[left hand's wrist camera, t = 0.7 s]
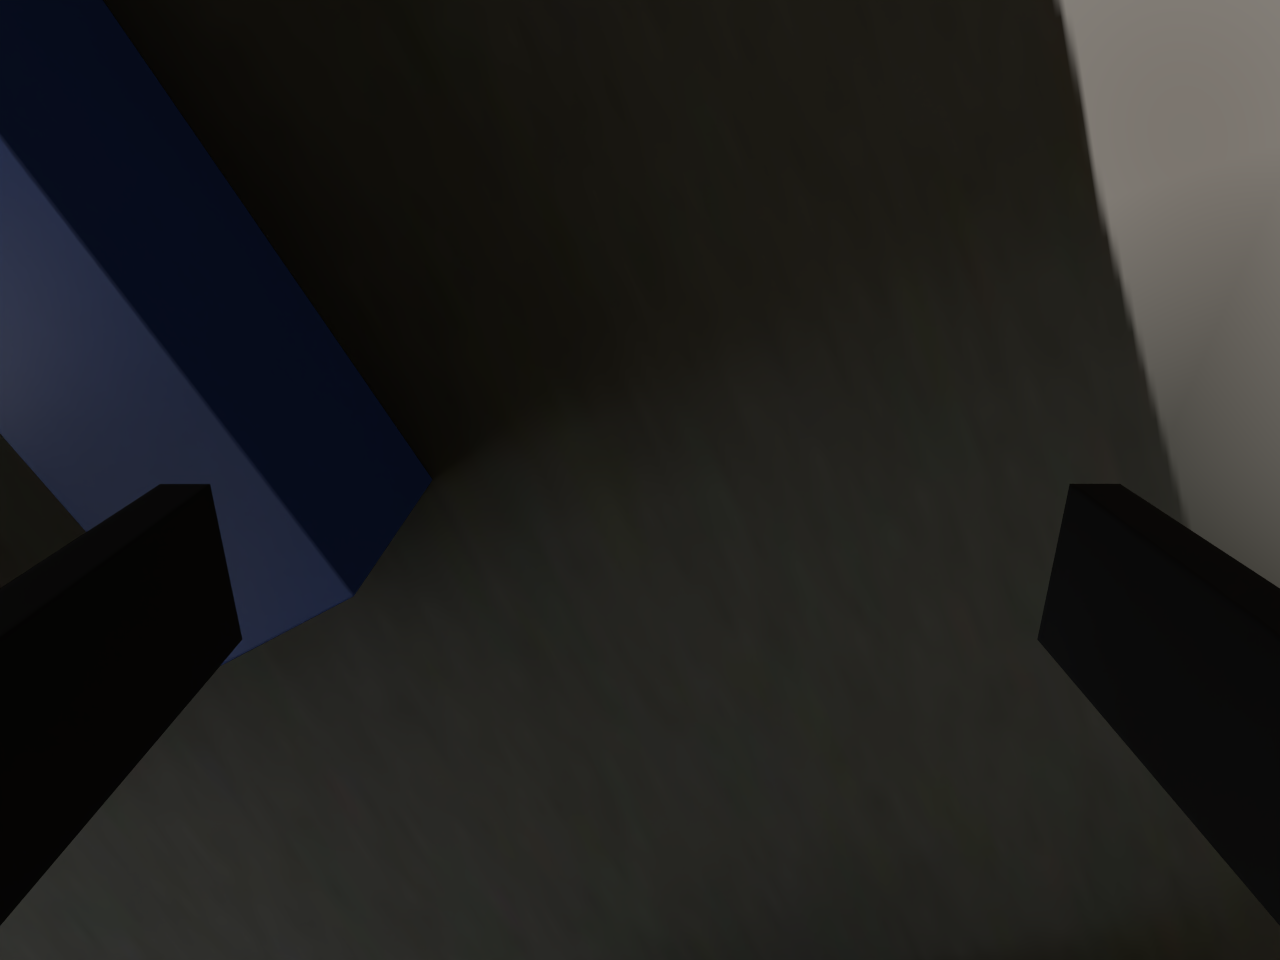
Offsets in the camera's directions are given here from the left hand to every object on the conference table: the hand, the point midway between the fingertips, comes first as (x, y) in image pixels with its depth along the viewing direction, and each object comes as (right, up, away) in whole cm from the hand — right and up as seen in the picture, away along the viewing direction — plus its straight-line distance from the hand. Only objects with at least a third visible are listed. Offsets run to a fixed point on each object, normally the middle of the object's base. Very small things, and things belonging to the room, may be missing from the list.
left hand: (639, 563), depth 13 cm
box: (-19, +11, +20) cm, 30 cm away
